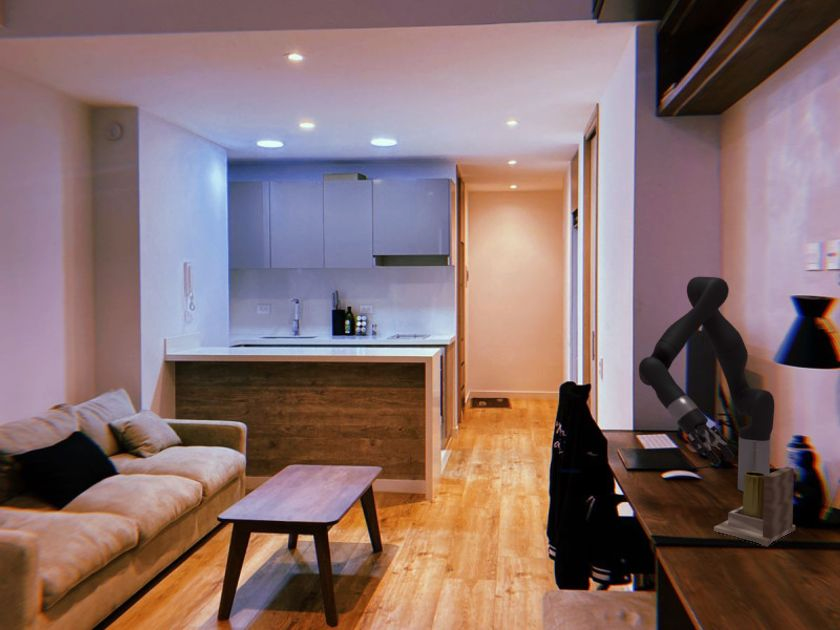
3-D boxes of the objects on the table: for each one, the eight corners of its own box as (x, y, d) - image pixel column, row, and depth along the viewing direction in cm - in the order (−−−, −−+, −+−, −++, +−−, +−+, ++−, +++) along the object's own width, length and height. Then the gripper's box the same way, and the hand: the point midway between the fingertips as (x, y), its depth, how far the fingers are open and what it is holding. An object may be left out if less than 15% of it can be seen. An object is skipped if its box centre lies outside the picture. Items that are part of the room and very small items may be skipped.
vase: (764, 523, 193) (765, 471, 192) (767, 530, 187) (769, 477, 187) (740, 521, 195) (741, 470, 194) (742, 528, 189) (743, 475, 189)
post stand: (743, 517, 202) (744, 457, 202) (795, 530, 192) (796, 467, 191) (713, 532, 190) (715, 468, 190) (767, 546, 180) (768, 478, 179)
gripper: (683, 409, 198) (723, 457, 190) (707, 404, 207) (746, 449, 199) (665, 425, 202) (703, 473, 194) (690, 419, 212) (727, 464, 203)
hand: (725, 461), depth 197 cm, fingers open, 8 cm apart
